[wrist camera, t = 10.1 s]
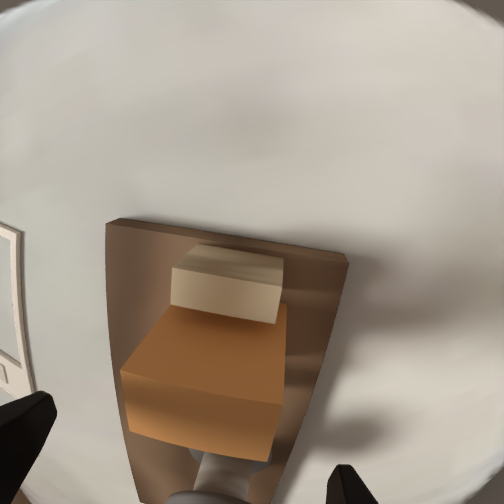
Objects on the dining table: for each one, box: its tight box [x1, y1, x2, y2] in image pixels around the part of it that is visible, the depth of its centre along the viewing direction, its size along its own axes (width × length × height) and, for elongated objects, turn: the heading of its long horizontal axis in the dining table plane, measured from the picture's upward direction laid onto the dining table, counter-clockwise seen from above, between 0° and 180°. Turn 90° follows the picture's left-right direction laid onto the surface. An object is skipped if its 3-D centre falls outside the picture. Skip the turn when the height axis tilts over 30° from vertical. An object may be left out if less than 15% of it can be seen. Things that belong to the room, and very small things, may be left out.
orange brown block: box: [120, 303, 287, 462], centre depth 12 cm, size 3×5×7 cm, turn 83°
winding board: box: [105, 218, 349, 504], centre depth 16 cm, size 12×28×8 cm, turn 172°
